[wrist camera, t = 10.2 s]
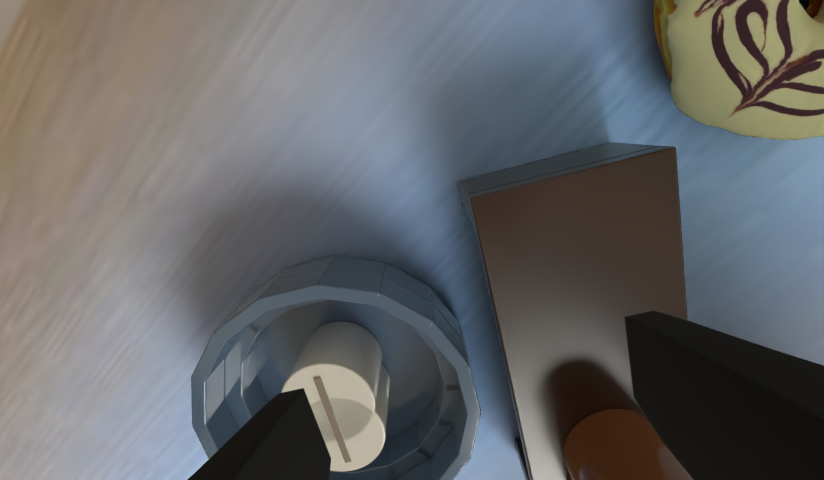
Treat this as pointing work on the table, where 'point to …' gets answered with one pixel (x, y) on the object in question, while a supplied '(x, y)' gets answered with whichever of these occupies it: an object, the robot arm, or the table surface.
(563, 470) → the rack
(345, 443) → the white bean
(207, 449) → the bowl
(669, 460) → the brown rounded block
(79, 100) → the table surface
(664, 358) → the robot arm
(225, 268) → the table surface
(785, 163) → the table surface
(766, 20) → the decorated donut
